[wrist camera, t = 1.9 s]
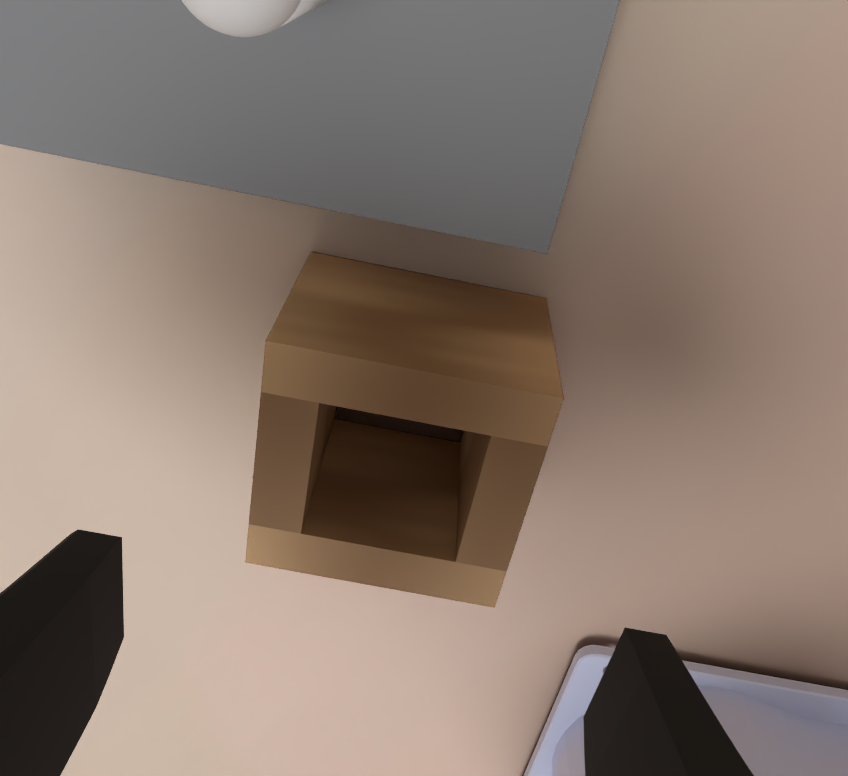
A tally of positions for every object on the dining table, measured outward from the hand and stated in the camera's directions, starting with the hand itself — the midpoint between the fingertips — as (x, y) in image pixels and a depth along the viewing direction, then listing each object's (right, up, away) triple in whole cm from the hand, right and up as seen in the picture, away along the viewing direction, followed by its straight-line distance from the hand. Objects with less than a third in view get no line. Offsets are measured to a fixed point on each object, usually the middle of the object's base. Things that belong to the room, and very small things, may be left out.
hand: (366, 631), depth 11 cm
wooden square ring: (+1, +4, +6) cm, 7 cm away
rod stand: (-1, +11, +2) cm, 11 cm away
